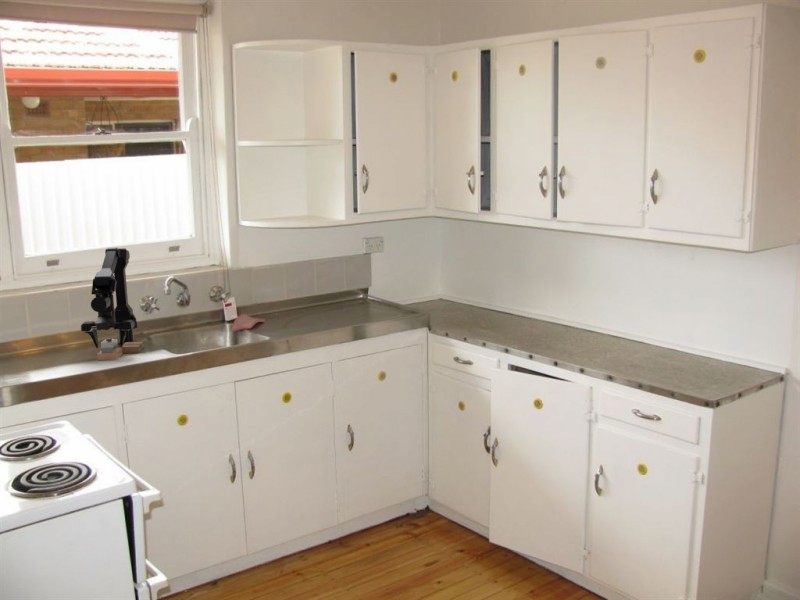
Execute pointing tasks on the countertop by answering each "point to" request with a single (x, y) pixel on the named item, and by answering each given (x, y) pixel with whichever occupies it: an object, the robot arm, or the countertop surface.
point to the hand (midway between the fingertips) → (109, 347)
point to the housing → (109, 345)
